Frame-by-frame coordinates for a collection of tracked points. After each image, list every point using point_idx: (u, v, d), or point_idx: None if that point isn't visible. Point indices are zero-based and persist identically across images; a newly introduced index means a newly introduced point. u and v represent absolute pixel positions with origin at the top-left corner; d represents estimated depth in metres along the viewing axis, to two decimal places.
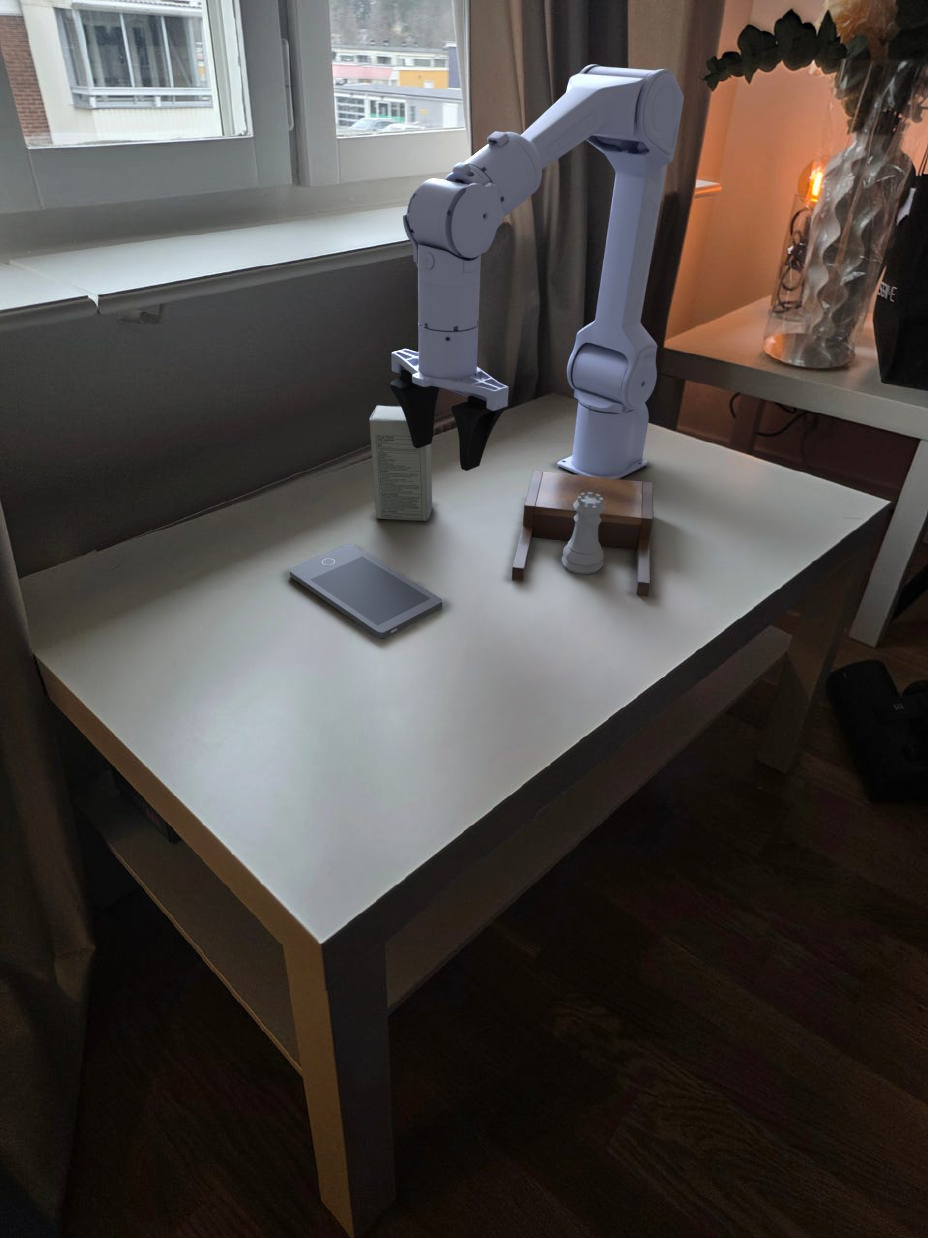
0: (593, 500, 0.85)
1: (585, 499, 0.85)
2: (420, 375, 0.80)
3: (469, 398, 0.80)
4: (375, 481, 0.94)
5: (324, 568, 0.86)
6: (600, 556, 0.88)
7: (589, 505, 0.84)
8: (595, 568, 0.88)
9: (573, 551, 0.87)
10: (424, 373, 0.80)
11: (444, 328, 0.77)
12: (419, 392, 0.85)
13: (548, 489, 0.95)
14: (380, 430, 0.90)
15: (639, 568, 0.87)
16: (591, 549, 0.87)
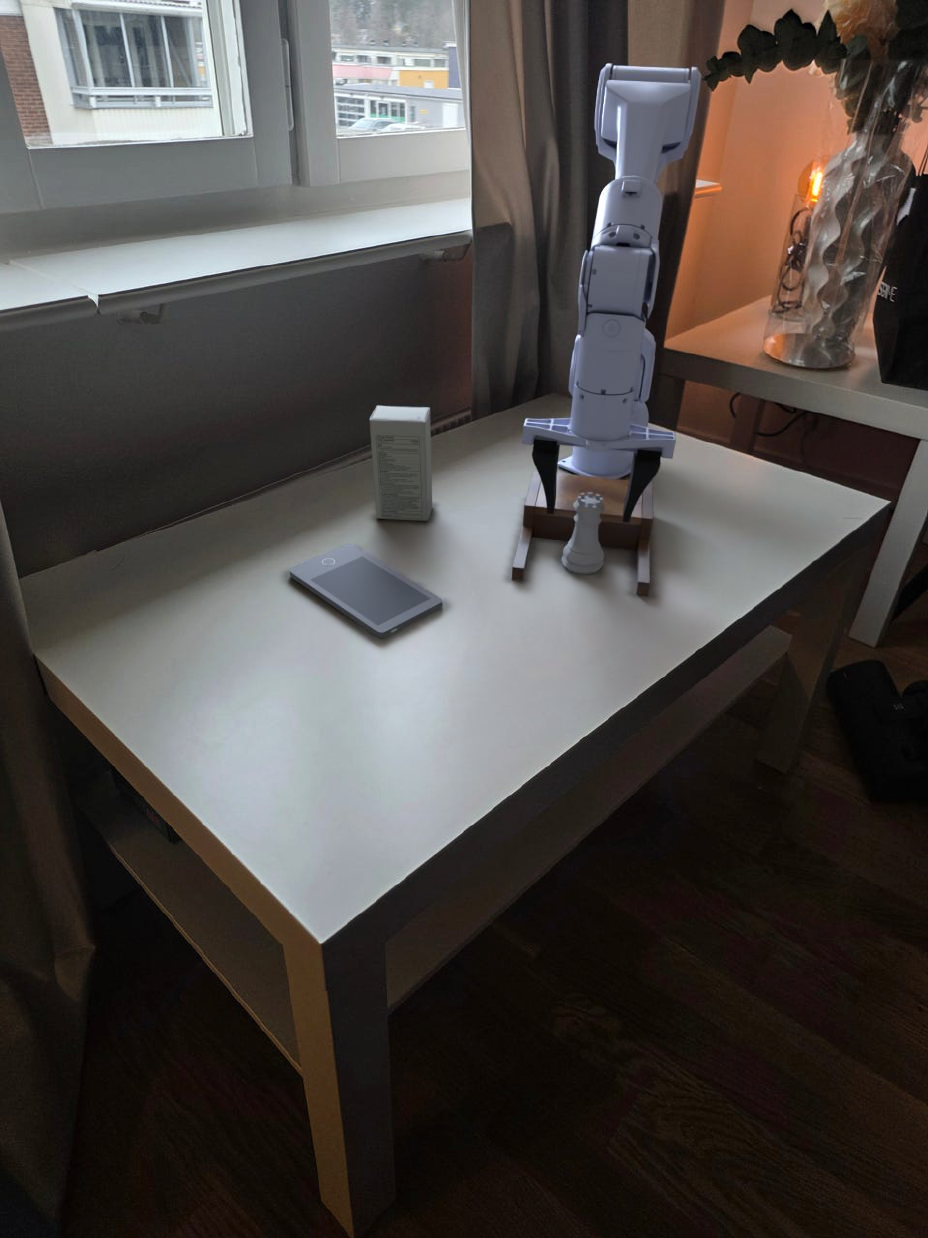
0: (593, 500, 0.85)
1: (585, 499, 0.85)
2: (594, 442, 0.78)
3: (640, 452, 0.80)
4: (375, 481, 0.94)
5: (324, 568, 0.86)
6: (600, 556, 0.88)
7: (589, 505, 0.84)
8: (595, 568, 0.88)
9: (573, 551, 0.87)
10: (595, 439, 0.78)
11: (623, 391, 0.76)
12: (557, 458, 0.83)
13: None
14: (380, 430, 0.90)
15: (639, 568, 0.87)
16: (591, 549, 0.87)
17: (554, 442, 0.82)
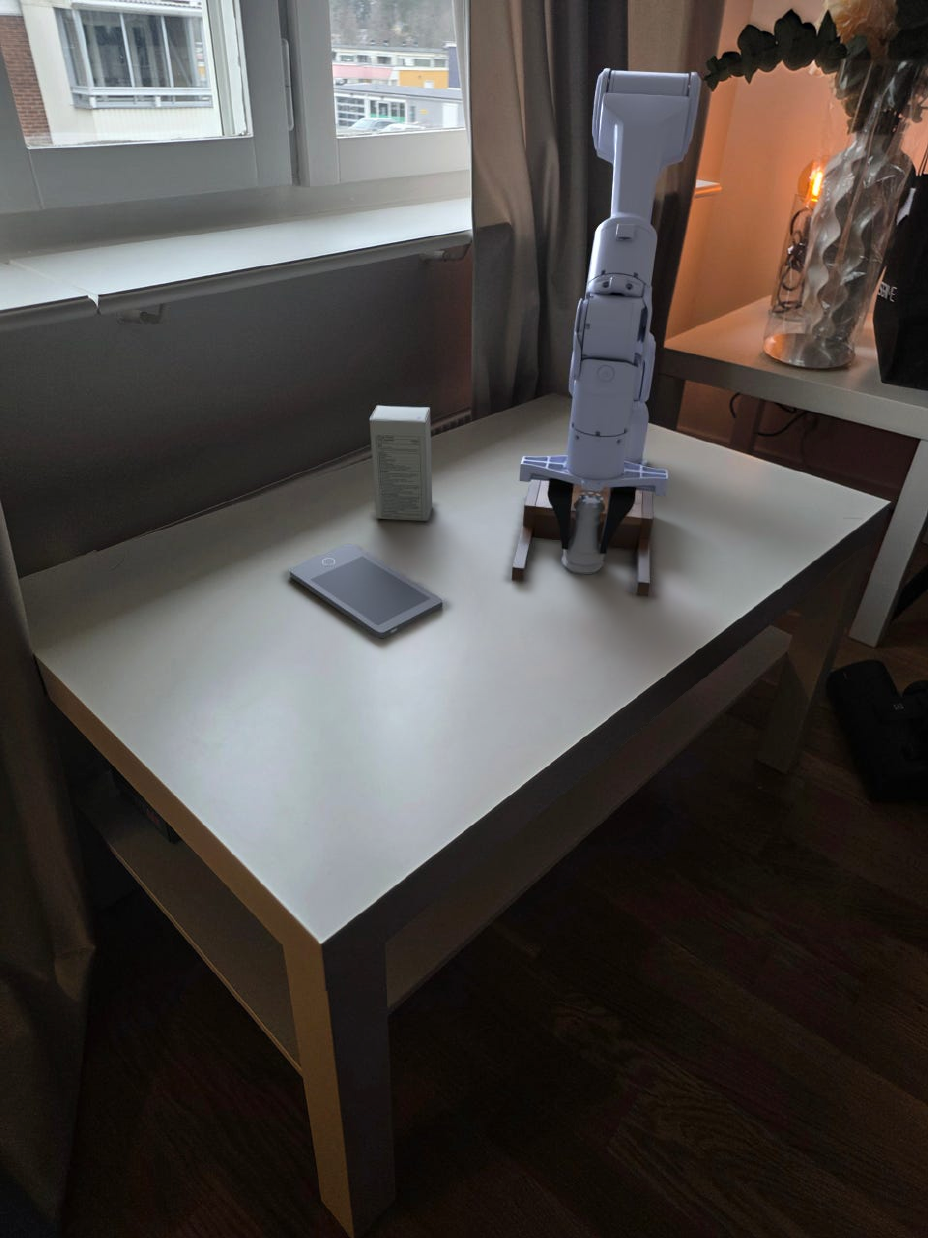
0: (593, 500, 0.85)
1: (585, 499, 0.85)
2: (589, 481, 0.80)
3: (616, 488, 0.83)
4: (375, 481, 0.94)
5: (324, 568, 0.86)
6: (600, 556, 0.88)
7: (589, 505, 0.84)
8: (595, 568, 0.88)
9: (573, 551, 0.87)
10: (590, 478, 0.81)
11: (617, 433, 0.78)
12: None
13: None
14: (380, 430, 0.90)
15: (639, 568, 0.87)
16: (591, 549, 0.87)
17: (550, 479, 0.84)
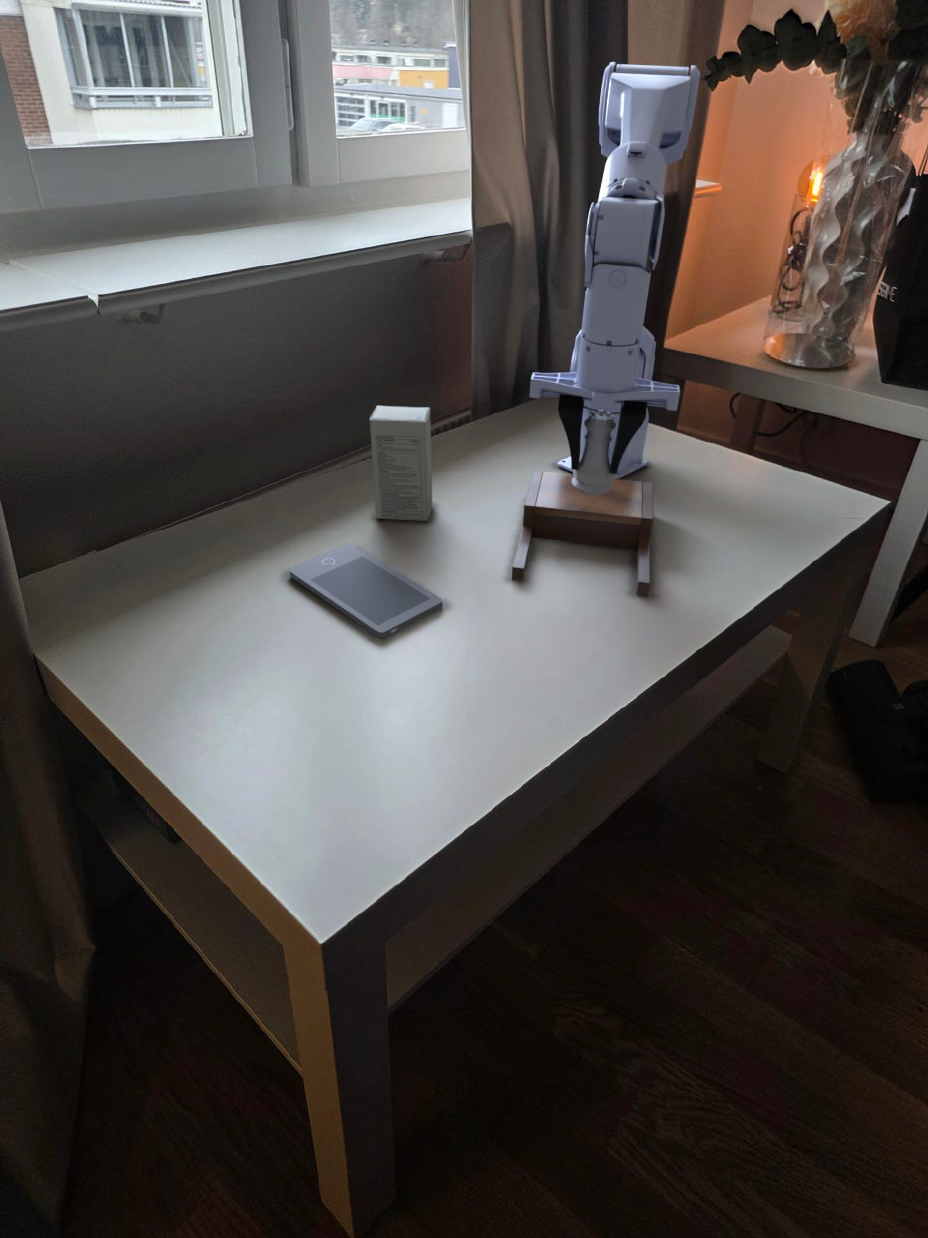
0: (604, 418, 0.84)
1: (596, 417, 0.85)
2: (600, 393, 0.80)
3: (627, 403, 0.82)
4: (375, 481, 0.94)
5: (324, 568, 0.86)
6: (611, 476, 0.87)
7: (600, 421, 0.83)
8: (605, 488, 0.87)
9: (583, 471, 0.87)
10: (601, 390, 0.80)
11: (628, 342, 0.78)
12: (582, 413, 0.84)
13: (548, 489, 0.95)
14: (380, 430, 0.90)
15: (639, 568, 0.87)
16: (602, 468, 0.86)
17: (561, 395, 0.83)
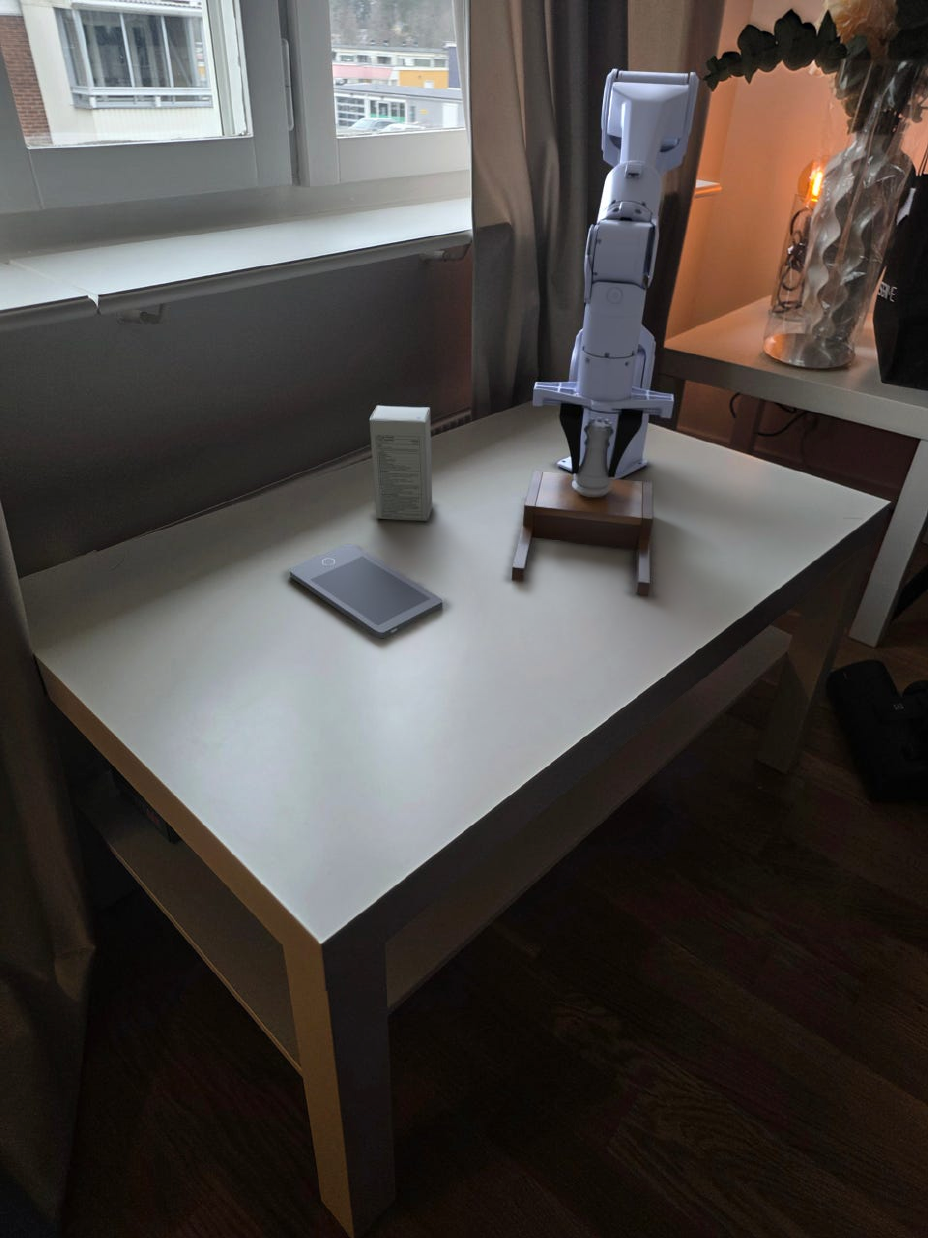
0: (603, 425, 0.90)
1: (595, 423, 0.90)
2: (599, 402, 0.85)
3: (624, 411, 0.88)
4: (375, 481, 0.94)
5: (324, 568, 0.86)
6: (609, 480, 0.92)
7: (599, 428, 0.89)
8: (604, 491, 0.93)
9: (583, 474, 0.92)
10: (599, 399, 0.85)
11: (625, 354, 0.83)
12: (582, 420, 0.89)
13: (548, 489, 0.95)
14: (380, 430, 0.90)
15: (639, 568, 0.87)
16: (600, 472, 0.92)
17: (562, 404, 0.89)
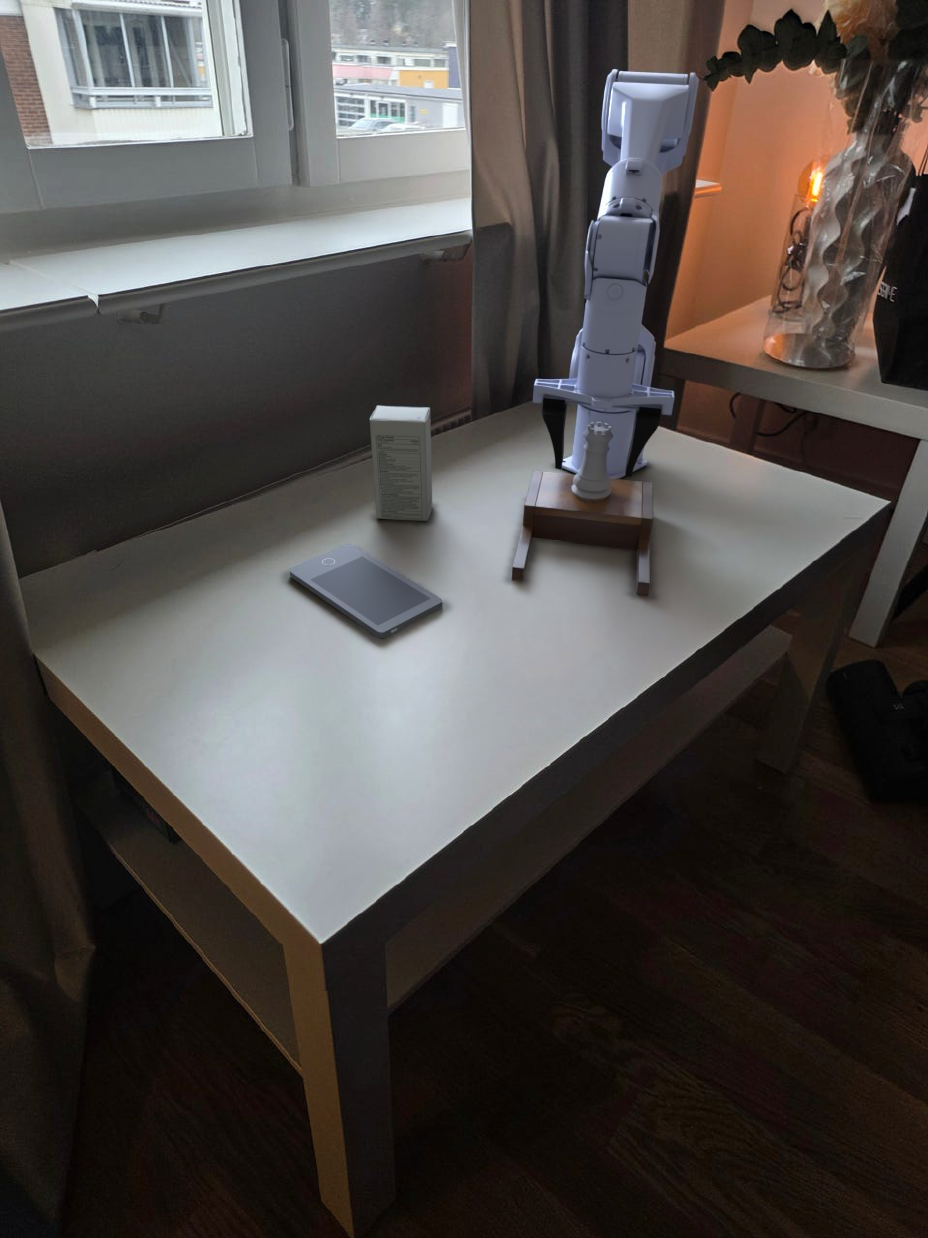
0: (602, 429, 0.90)
1: (594, 428, 0.90)
2: (599, 399, 0.85)
3: (642, 409, 0.87)
4: (375, 481, 0.94)
5: (324, 568, 0.86)
6: (608, 484, 0.93)
7: (598, 432, 0.89)
8: (603, 495, 0.93)
9: (582, 478, 0.92)
10: (600, 396, 0.85)
11: (626, 351, 0.83)
12: None
13: (548, 489, 0.95)
14: (380, 430, 0.90)
15: (639, 568, 0.87)
16: (600, 476, 0.92)
17: (562, 400, 0.88)
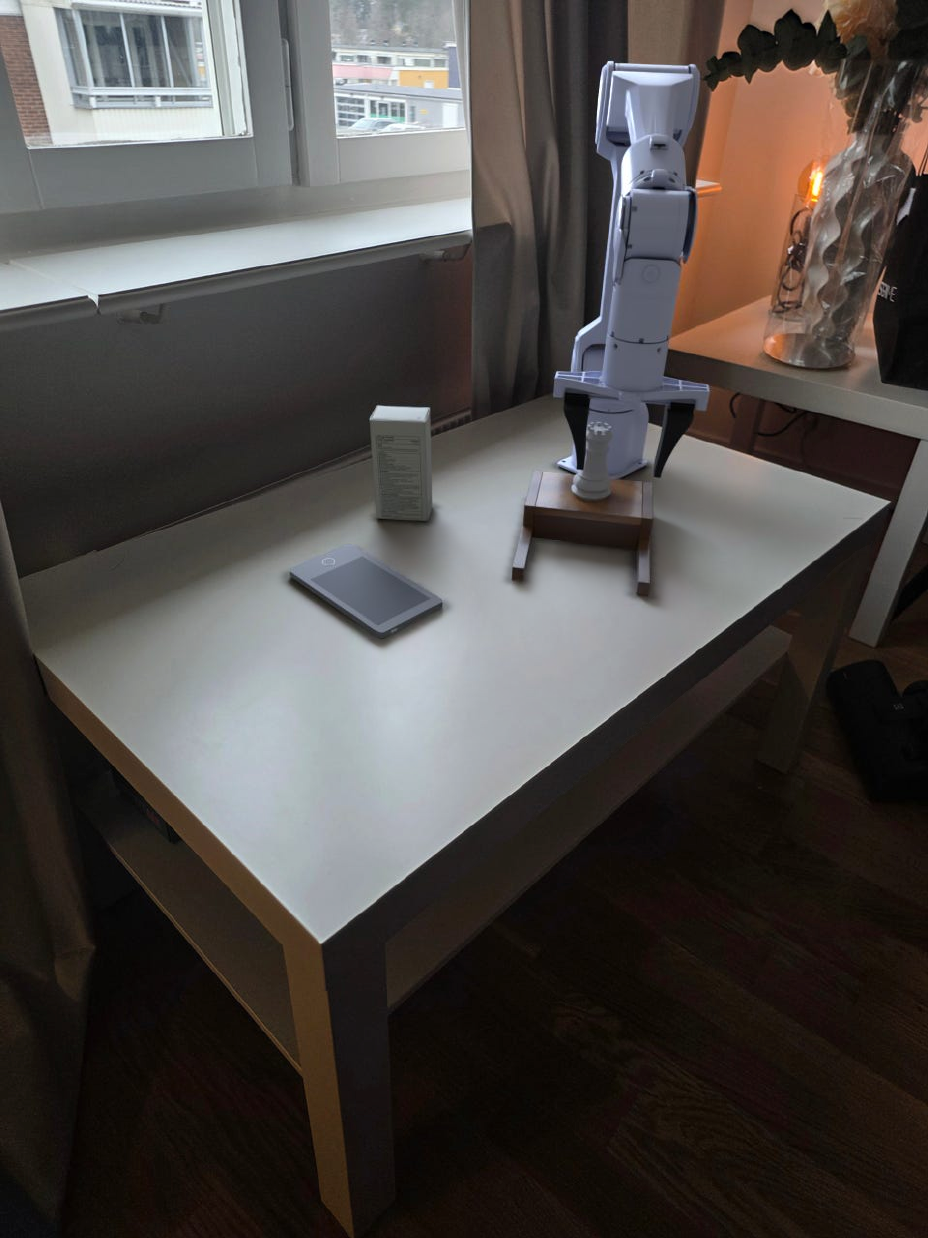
0: (602, 429, 0.90)
1: (594, 428, 0.90)
2: (627, 393, 0.77)
3: (673, 405, 0.79)
4: (375, 481, 0.94)
5: (324, 568, 0.86)
6: (608, 484, 0.93)
7: (598, 432, 0.89)
8: (603, 495, 0.93)
9: (582, 478, 0.92)
10: (628, 390, 0.77)
11: (660, 339, 0.75)
12: (588, 412, 0.82)
13: (548, 489, 0.95)
14: (380, 430, 0.90)
15: (639, 568, 0.87)
16: (600, 476, 0.92)
17: (585, 395, 0.81)
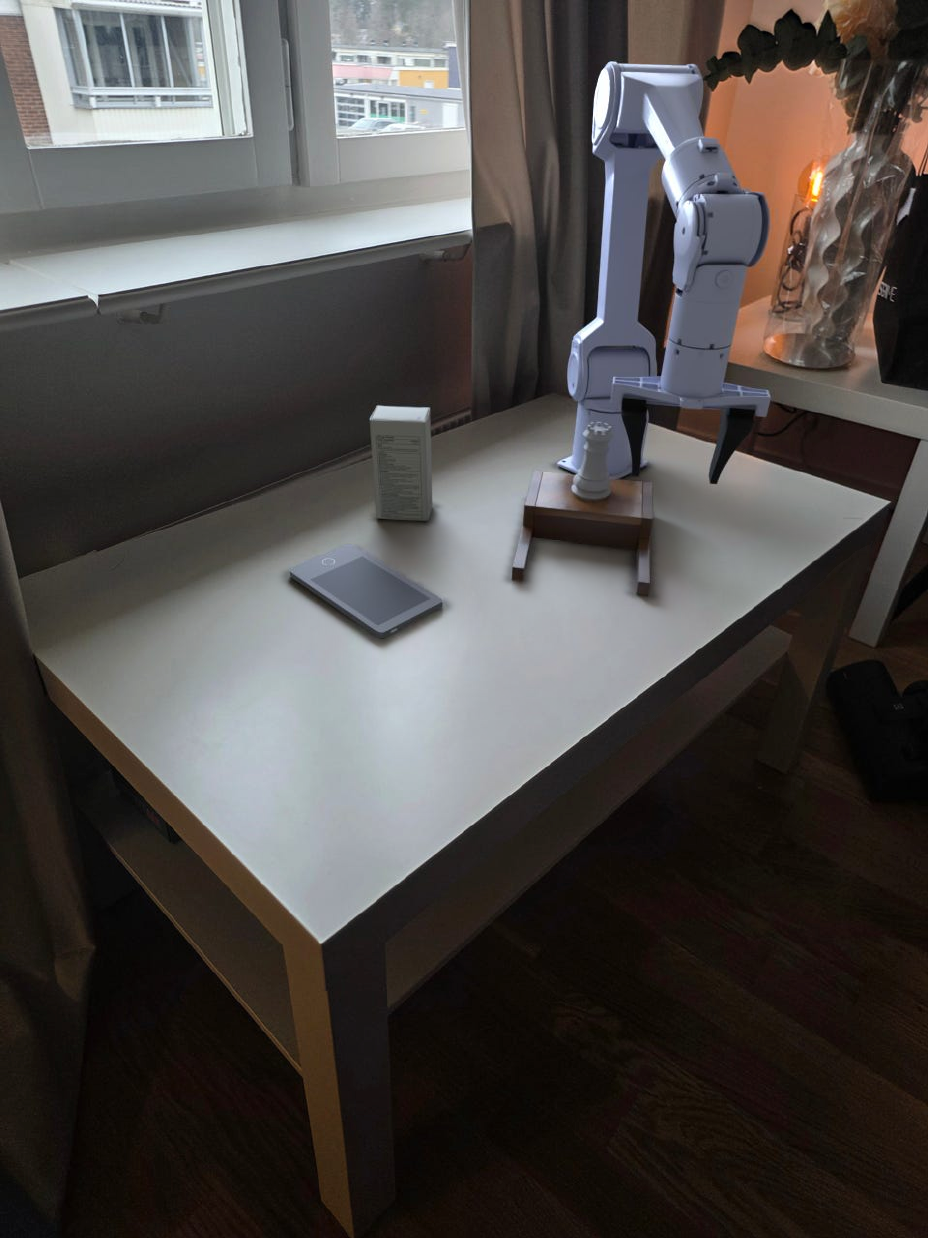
0: (602, 429, 0.90)
1: (594, 428, 0.90)
2: (688, 398, 0.76)
3: (733, 411, 0.79)
4: (375, 481, 0.94)
5: (324, 568, 0.86)
6: (608, 484, 0.93)
7: (598, 432, 0.89)
8: (603, 495, 0.93)
9: (582, 478, 0.92)
10: (689, 396, 0.77)
11: (728, 343, 0.75)
12: None
13: (548, 489, 0.95)
14: (380, 430, 0.90)
15: (639, 568, 0.87)
16: (600, 476, 0.92)
17: (643, 401, 0.80)
